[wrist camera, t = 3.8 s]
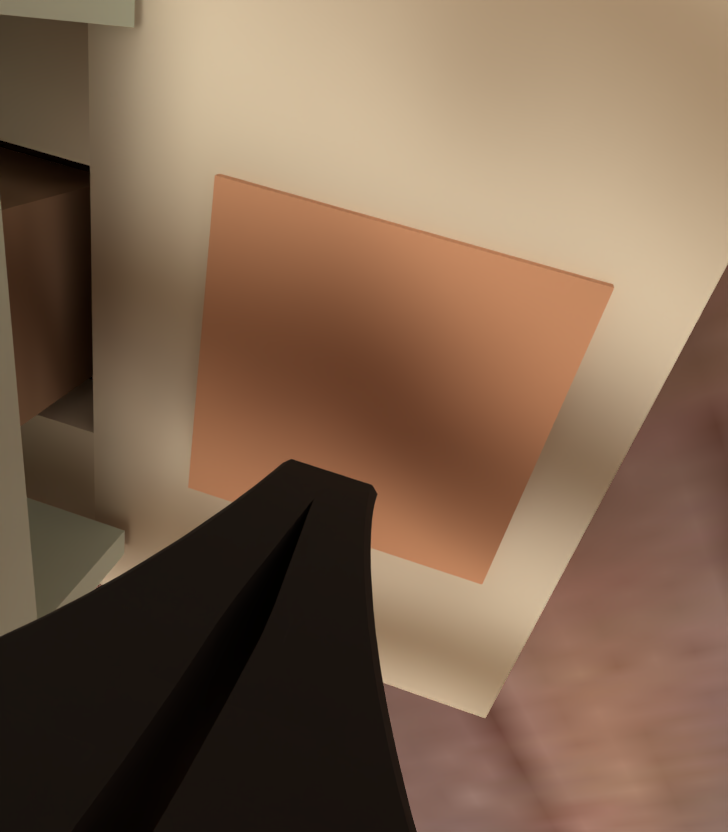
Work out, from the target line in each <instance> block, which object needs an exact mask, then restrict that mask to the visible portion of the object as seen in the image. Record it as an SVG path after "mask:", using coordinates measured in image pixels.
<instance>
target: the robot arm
mask: <svg viewBox="0 0 728 832" xmlns="http://www.w3.org/2000/svg"><path fill="white" fill-rule="evenodd" d="M376 498H377V492H376V490H375V489H374V487H373V485H371V484H368V483H365V482H362V481H359V480H356V479H352V478H349V477H346V476H343V475H340V474H337V473H334V472H331V471H328V470H325V469H321V468H318V467H315V466H312V465H309V464H306V463H303V462H300V461H297V460H293V459H290V460H288V461H286V462H283V463H282V464H281V465H279V466H278V467H277V468H276V469H275V470H273V471H272V472H271V473H270V474H268V475H267V476H266V477H265V478H263V479H262V480H261V481H260V482H258V483H257V484H256V485H255V486H253V487H252V488H251V489H249V490H248V491H247V492H245V493H244V494H243V495H241V496H240V497H239V498H237V499H236V500H235V501H233V502H232V503H231V504H229V505H228V506H227V507H225V508H224V509H222V510H221V511H219V512H218V513H216V514H215V515H214V516H212V517H211V518H209V519H208V520H206V521H205V522H203V523H202V524H201V525H199V526H198V527H196V528H195V529H193V530H192V531H190V532H189V533H188V534H186V535H185V536H183V537H181V538H180V539H178V540H177V541H175V542H174V543H172V544H170V545H169V546H167V547H166V548H164V549H162V550H161V551H159V552H157V553H156V554H154V555H153V556H151V557H149V558H148V559H146V560H144V561H143V562H141V563H140V564H138V565H136V566H135V567H133V568H131V569H130V570H128V571H126V572H125V573H123V574H121V575H120V576H118V577H116V578H114V579H113V580H111V581H109V582H107V583H105V584H104V585H102V586H100V587H98V588H96V589H95V590H93V591H91V592H89V593H87V594H85V595H83V596H82V597H80V598H78V599H76V600H74V601H72V602H70V603H68V604H66V605H64V606H62V607H60V608H58V609H56V610H54V611H52V612H51V613H49V614H47V615H45V616H43V617H41V618H39V619H37V620H34V621H32V622H30V623H28V624H26V625H24V626H22V627H19V628H17V629H15V630H13V631H11V632H9V633H6V634H4V635H2V636H0V832H417V831H416V828H415V824H414V821H413V817H412V814H411V810H410V806H409V802H408V798H407V794H406V790H405V786H404V781H403V777H402V773H401V769H400V765H399V760H398V756H397V752H396V747H395V742H394V738H393V733H392V728H391V723H390V718H389V714H388V708H387V703H386V697H385V692H384V686H383V680H382V673H381V667H380V660H379V652H378V645H377V638H376V629H375V620H374V610H373V594H372V579H371V528H372V517H373V510H374V505H375V501H376Z"/></svg>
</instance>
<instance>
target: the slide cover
mask: <svg viewBox="0 0 728 832" xmlns="http://www.w3.org/2000/svg"><path fill="white" fill-rule="evenodd" d="M134 10H135V0H0V14H2V15H12V16H22V17H32V18H43V19H53V20H63V21H73V22H83V23H93V24H103V25H114V26H124V27H134ZM124 544H125V531H124V530H121V529H118V528H115V527H113V526H110V525H107V524H104V523H101V522H98V521H95V520H92V519H89V518H86V517H83V516H80V515H77V514H74V513H71V512H68V511H65V510H63V509H60V508H57V507H54V506H51V505H48V504H45V503H42V502H39V501H36V500H33V499H30V498H27V496H26V485H25V473H24V462H23V450H22V439H21V428H20V416H19V405H18V393H17V382H16V371H15V359H14V348H13V336H12V325H11V314H10V302H9V291H8V279H7V268H6V257H5V245H4V234H3V222H2V211H1V200H0V636H2V635H4V634H6V633H9V632H11V631H13V630H15V629H17V628H19V627H22V626H24V625H26V624H28V623H30V622H32V621H34V620H37V619H39V618H41V617H43V616H45V615H47V614H49V613H51V612H52V611H54V610H56V609H58V608H60V607H62V606H64V605H66V604H68V603H70V602H72V601H74V600H76V599H78V598H80V597H82V596H83V595H85V594H87V593H89V592H91V591H93V590H95V588H96V587H97V586H98V585H99V584H100V582H101V581H102V580H103V579H104V578H105V576H106V575H107V574H108V573H109V572H110V570H111V569H112V568H113V567H114V566H115V564H116V563H117V562H118V561H119V560H120V558H121V557H122V556H123V555H124Z"/></svg>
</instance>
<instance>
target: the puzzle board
mask: <svg viewBox="0 0 728 832" xmlns="http://www.w3.org/2000/svg"><path fill="white" fill-rule="evenodd" d="M0 140H1V141H5V142H8V143H12V144H15V145H19V146H22V147H26V148H29V149H33V150H36V151H40V152H43V153H47V154H50V155H54V156H57V157H61V158H64V159H68V160H71V161H75V162H78V163H82V164H85V165H89V166H90V204H91V273H92V343H93V380H91V379H87V380H86V381H84V382H83V383H82V384H80V385H79V386H77V387H76V388H74V389H73V390H72V391H70V392H69V393H67V394H66V395H64V396H63V397H62V398H60V399H59V400H57V401H56V402H55V403H53V404H52V405H50V406H49V407H47V408H46V409H45V410H43V411H42V412H40V413H39V414H38V415H36V416H35V417H33V418H32V419H30V420H29V421H28V422H26V423H25V424H23V425H22V426H20V428H21V439H22V450H23V462H24V473H25V485H26V496H27V498H30V499H33V500H36V501H39V502H42V503H45V504H48V505H51V506H54V507H57V508H60V509H63V510H65V511H68V512H71V513H74V514H77V515H80V516H83V517H86V518H89V519H92V520H95V521H98V522H101V523H104V524H107V525H110V526H113V527H115V528H118V529H121V530H124V531H125V544H124V555H123V556H122V557H121V558H120V560H119V561H118V562H117V563H116V564H115V566H114V567H113V568H112V569H111V570H110V572H109V573H108V574H107V575H106V576H105V578H104V579H103V580H102V581H101V582H100V584H102V585H104V584H105V583H107V582H109V581H111V580H113V579H114V578H116V577H118V576H120V575H121V574H123V573H125V572H126V571H128V570H130V569H131V568H133V567H135V566H136V565H138V564H140V563H141V562H143V561H144V560H146V559H148V558H149V557H151V556H153V555H154V554H156V553H157V552H159V551H161V550H162V549H164V548H166V547H167V546H169V545H170V544H172V543H174V542H175V541H177V540H178V539H180V538H181V537H183V536H185V535H186V534H188V533H189V532H190V531H192V530H193V529H195V528H196V527H198V526H199V525H201V524H202V523H203V522H205V521H206V520H208V519H209V518H211V517H212V516H214V515H215V514H216V513H218V512H219V511H221V510H222V509H224V508H225V507H227V506H228V505H229V504H231V503H232V502H233V501H235V500H236V499H237V498H239V497H240V496H241V495H243V494H244V493H245V492H247V491H248V490H249V489H251V488H252V487H253V486H255V485H256V484H257V483H258V482H260V481H261V480H262V479H263V478H265V477H266V476H267V475H268V474H270V473H271V472H272V471H273V470H275V469H276V468H277V467H278V466H279V465H281V464H282V463H283V462H286V461H288V460H290V459H293V460H297V461H300V462H303V463H306V464H309V465H312V466H315V467H318V468H321V469H325V470H328V471H331V472H334V473H337V474H340V475H343V476H346V477H349V478H352V479H356V480H359V481H362V482H365V483H368V484H371V485H373V487H374V489H375V490H376V492H377V498H376V501H375V505H374V510H373V517H372V528H371V579H372V594H373V610H374V620H375V629H376V638H377V645H378V652H379V660H380V667H381V673H382V680H383V683H386V684H388V685H391V686H394V687H397V688H400V689H403V690H406V691H408V692H411V693H414V694H417V695H420V696H423V697H426V698H429V699H431V700H434V701H437V702H440V703H443V704H446V705H449V706H451V707H454V708H457V709H460V710H463V711H466V712H469V713H471V714H474V715H477V716H480V717H483V718H486V716H487V714H488V712H489V710H490V709H491V707H492V705H493V703H494V701H495V699H496V697H497V695H498V694H499V692H500V690H501V688H502V686H503V684H504V682H505V680H506V679H507V677H508V675H509V673H510V671H511V669H512V667H513V665H514V664H515V662H516V660H517V658H518V656H519V654H520V652H521V650H522V649H523V647H524V645H525V643H526V641H527V639H528V637H529V635H530V634H531V632H532V630H533V628H534V626H535V624H536V622H537V620H538V619H539V617H540V615H541V613H542V611H543V609H544V607H545V605H546V604H547V602H548V600H549V598H550V596H551V594H552V592H553V590H554V589H555V587H556V585H557V583H558V581H559V579H560V577H561V575H562V574H563V572H564V570H565V568H566V566H567V564H568V562H569V560H570V559H571V557H572V555H573V553H574V551H575V549H576V547H577V546H578V544H579V542H580V540H581V538H582V536H583V534H584V532H585V531H586V529H587V527H588V525H589V523H590V521H591V519H592V517H593V516H594V514H595V512H596V510H597V508H598V506H599V504H600V502H601V501H602V499H603V497H604V495H605V493H606V491H607V489H608V487H609V486H610V484H611V482H612V480H613V478H614V476H615V474H616V472H617V471H618V469H619V467H620V465H621V463H622V461H623V459H624V457H625V456H626V454H627V452H628V450H629V448H630V446H631V444H632V442H633V441H634V439H635V437H636V435H637V433H638V431H639V429H640V427H641V426H642V424H643V422H644V420H645V418H646V416H647V414H648V412H649V411H650V409H651V407H652V405H653V403H654V401H655V399H656V397H657V396H658V394H659V392H660V390H661V388H662V386H663V384H664V382H665V381H666V379H667V377H668V375H669V373H670V371H671V369H672V367H673V366H674V364H675V362H676V360H677V358H678V356H679V354H680V352H681V351H682V349H683V347H684V345H685V343H686V341H687V339H688V337H689V336H690V334H691V332H692V330H693V328H694V326H695V324H696V322H697V321H698V319H699V317H700V315H701V313H702V311H703V309H704V307H705V306H706V304H707V302H708V300H709V298H710V296H711V294H712V292H713V291H714V289H715V287H716V285H717V283H718V281H719V279H720V277H721V276H722V274H723V272H724V270H725V268H726V266H727V264H728V0H135V10H134V27H124V26H114V25H103V24H93V23H83V22H73V21H63V20H53V19H43V18H32V17H22V16H12V15H2V14H0Z"/></svg>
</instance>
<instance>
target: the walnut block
mask: <svg viewBox="0 0 728 832" xmlns="http://www.w3.org/2000/svg"><path fill="white" fill-rule="evenodd" d="M0 200H1V211H2V222H3V234H4V245H5V257H6V268H7V279H8V291H9V302H10V314H11V325H12V336H13V348H14V359H15V371H16V382H17V393H18V405H19V416H20V426H22V425H23V424H25V423H26V422H28V421H29V420H30V419H32V418H33V417H35V416H36V415H38V414H39V413H40V412H42V411H43V410H45V409H46V408H47V407H49V406H50V405H52V404H53V403H55V402H56V401H57V400H59V399H60V398H62V397H63V396H64V395H66V394H67V393H69V392H70V391H72V390H73V389H74V388H76V387H77V386H79V385H80V384H82V383H83V382H84V381H86V380H87V379H89V378H90V377H91V376H93V343H92V273H91V204H90V172H87V171H83V170H80V169H76V168H73V167H69V166H66V165H62V164H59V163H55V162H52V161H48V160H45V159H41V158H38V157H34V156H30V155H27V154H23V153H20V152H16V151H13V150H9V149H6V148H2V147H0Z"/></svg>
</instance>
